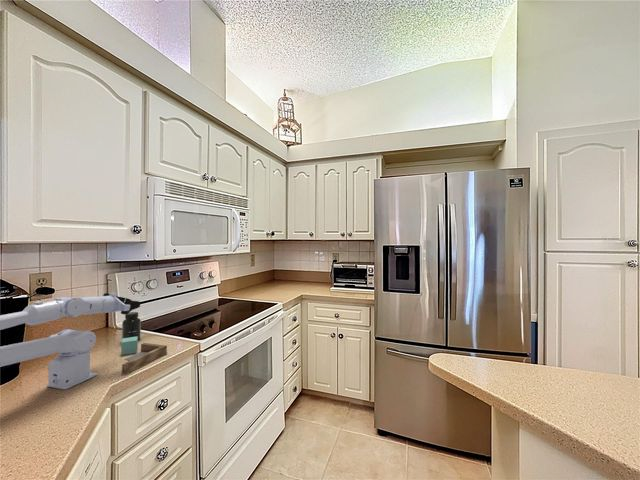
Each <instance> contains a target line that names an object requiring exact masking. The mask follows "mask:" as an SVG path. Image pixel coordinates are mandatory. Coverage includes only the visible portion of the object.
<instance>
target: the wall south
mask: <svg viewBox="0 0 640 480" xmlns="http://www.w3.org/2000/svg"><path fill="white" fill-rule="evenodd" d="M164 355H165V354H164V347H159V348H157V349H155V350H152V351H150V352H148V353H147V352H146V354H144V355H142V356H139V357H137V358H135V359H133V360H131V361H129V360H128V361H126V362H125V363H122V364H121V374H123V375H126V374H129V373H130V371H131V372H133V371H134V369H135V370H137V369H139V368H141V367H143V366H144V364H145V365H147V364H148V362H149V363H151V362H152V361H155V360H157V359H158V358H160V357H162V356H164ZM150 361H151V362H150ZM146 363H147V364H146ZM142 365H143V366H142ZM140 366H141V367H140ZM138 367H139V368H138ZM136 368H137V369H136ZM132 370H133V371H132Z"/></svg>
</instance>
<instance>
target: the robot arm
mask: <svg viewBox="0 0 640 480" xmlns="http://www.w3.org/2000/svg"><path fill="white" fill-rule="evenodd" d="M116 295H117V293H115V292H110V293H107V292H105V293H104V294H103V295H100V296H98V295H97V296H82V297H81V296H80V297H60V296H59V297H56V298H54V300H49V301H41V300H40V301H34V302H33V304H29V305H27V306H26V307H25V308H24V309H23V310H22V311H18V312H17V311H16V312H12V313H7V314H1V315H0V331H1V330H5V329H9V328H12V327H16V326H19V325H23V324H26V325H28V326H35V325H41V324H44V323H48V322H51V321H55V320H59V319H61V318H64V317H69V318H77V317H80V316H82V315H94V314H95V315H96V314H104V313H108V314H109V313H116V312H120V314H122V315H125V314H128V313H129V312H133V311H134V310H136V309H138V308H141V304H142V302H141V301H139V300H133V299H130V298H127V297H123V296H116ZM96 341H97V336H96V334H95V333H94V332H93V331H91V330H85V331H84V330H77V329H71V328H70V329H69V328H67V329H62V330H61V331H60V332H57V333H55V334H51V335H50V336H49V337H48V336H47V337H43V338H37V339H33V340H28V341H22V342H18V343H17V342H16V343H12V344H8V345H3V346H0V368H1V367H5V366H10V365H13V364H18V363H22V362H26V361H30V360H34V359H38V358H43V357H47V356H50V355H55V354H59V355H58V356H57V357H55V358H53V359H52V360H51V361H49V364H48V368H47V369H48V375H47V377H48V378H47V379H48V383H47V384H46V387H49V388H55V389H59V390H68V389H70V388H72V387H74V386H77V385H78V384H80V383H83V382H85V381H87V380H89V379H91V378H93V377H96V376H98V373H97V372H91V351H92V348H93V347H94V346H95V344H96Z"/></svg>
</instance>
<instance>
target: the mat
mask: <svg viewBox="0 0 640 480" xmlns="http://www.w3.org/2000/svg"><path fill="white" fill-rule="evenodd" d="M146 353H147V352H141V351H139V352H137V353H134V354H132V355H131V356H128V357H126V358H124V360H125V361H129V360H133V359H135V358H137V357H139V356H142V355H144V354H146Z"/></svg>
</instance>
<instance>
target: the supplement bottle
mask: <svg viewBox="0 0 640 480" xmlns="http://www.w3.org/2000/svg"><path fill="white" fill-rule="evenodd" d="M124 315H125V316H124V318H125V319H124V320H123V321H122V324H121V325H122V328H121V340H122V339H123V338H129V337H136V336H138V341H139V340H140V339H141V331H142V329H141V328H142V324H141V323H142V322H141V321H142V320H141V319H140V318H139V312H137V311H130V312H129V313H128V314H124Z"/></svg>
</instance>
